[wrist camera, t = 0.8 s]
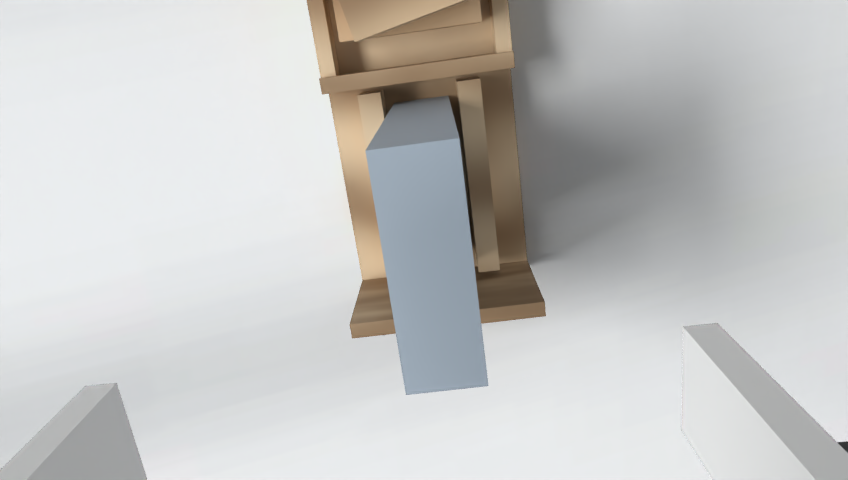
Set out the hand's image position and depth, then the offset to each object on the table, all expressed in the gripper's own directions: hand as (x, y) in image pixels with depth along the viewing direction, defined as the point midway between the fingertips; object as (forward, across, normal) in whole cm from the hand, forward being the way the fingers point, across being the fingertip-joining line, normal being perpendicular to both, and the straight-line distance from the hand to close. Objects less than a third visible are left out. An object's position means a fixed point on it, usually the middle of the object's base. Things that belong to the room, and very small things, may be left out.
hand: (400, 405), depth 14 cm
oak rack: (+23, +1, +6) cm, 24 cm away
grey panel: (+22, +1, 0) cm, 22 cm away
